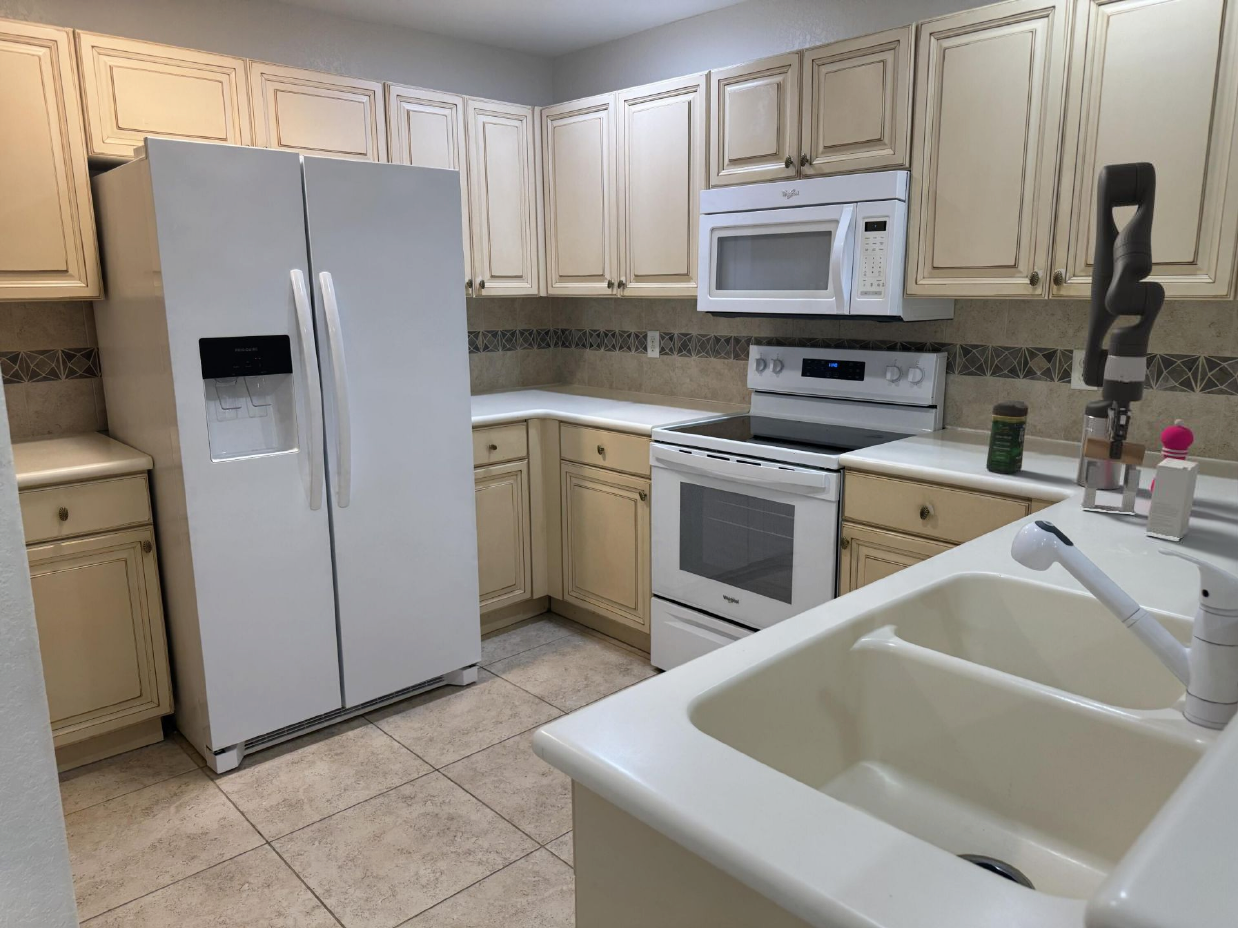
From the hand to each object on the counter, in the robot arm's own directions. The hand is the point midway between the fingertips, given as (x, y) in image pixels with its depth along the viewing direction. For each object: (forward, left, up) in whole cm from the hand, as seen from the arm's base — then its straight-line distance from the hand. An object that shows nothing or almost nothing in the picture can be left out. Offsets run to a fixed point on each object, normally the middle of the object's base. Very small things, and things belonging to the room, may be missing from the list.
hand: (1113, 456), depth 186 cm
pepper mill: (-9, +13, -12) cm, 20 cm away
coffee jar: (-36, -20, -12) cm, 43 cm away
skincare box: (+16, +9, -12) cm, 22 cm away
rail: (0, 0, -1) cm, 1 cm away
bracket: (0, 0, -12) cm, 12 cm away
